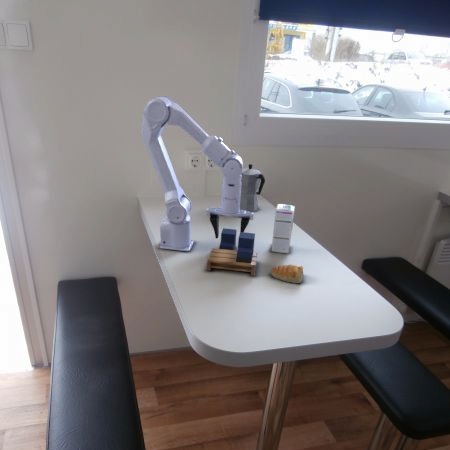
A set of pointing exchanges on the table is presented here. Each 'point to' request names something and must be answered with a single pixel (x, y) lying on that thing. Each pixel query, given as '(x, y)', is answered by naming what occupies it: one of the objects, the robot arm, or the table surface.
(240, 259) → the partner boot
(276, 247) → the syrup box
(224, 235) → the blue block
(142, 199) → the table surface
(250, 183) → the coffeepot
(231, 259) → the shoe rack
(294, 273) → the pastry
